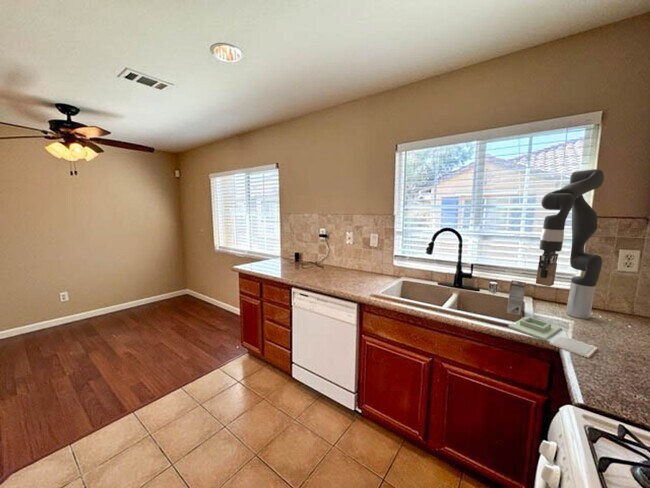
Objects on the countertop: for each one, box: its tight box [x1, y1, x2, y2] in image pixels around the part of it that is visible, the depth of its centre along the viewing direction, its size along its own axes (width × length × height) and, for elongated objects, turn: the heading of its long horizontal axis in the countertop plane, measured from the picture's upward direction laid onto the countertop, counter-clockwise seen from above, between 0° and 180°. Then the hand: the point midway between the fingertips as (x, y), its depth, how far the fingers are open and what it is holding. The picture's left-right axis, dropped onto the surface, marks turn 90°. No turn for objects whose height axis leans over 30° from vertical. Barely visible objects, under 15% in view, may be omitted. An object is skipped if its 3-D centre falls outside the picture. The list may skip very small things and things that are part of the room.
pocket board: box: [507, 315, 563, 341], centre depth 124 cm, size 20×14×3 cm
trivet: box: [548, 334, 598, 359], centre depth 109 cm, size 12×12×1 cm
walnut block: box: [535, 262, 558, 287], centre depth 119 cm, size 5×5×10 cm
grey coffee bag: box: [506, 279, 526, 316], centre depth 142 cm, size 9×6×16 cm
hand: (545, 276), depth 119 cm, fingers closed on walnut block, 5 cm apart
